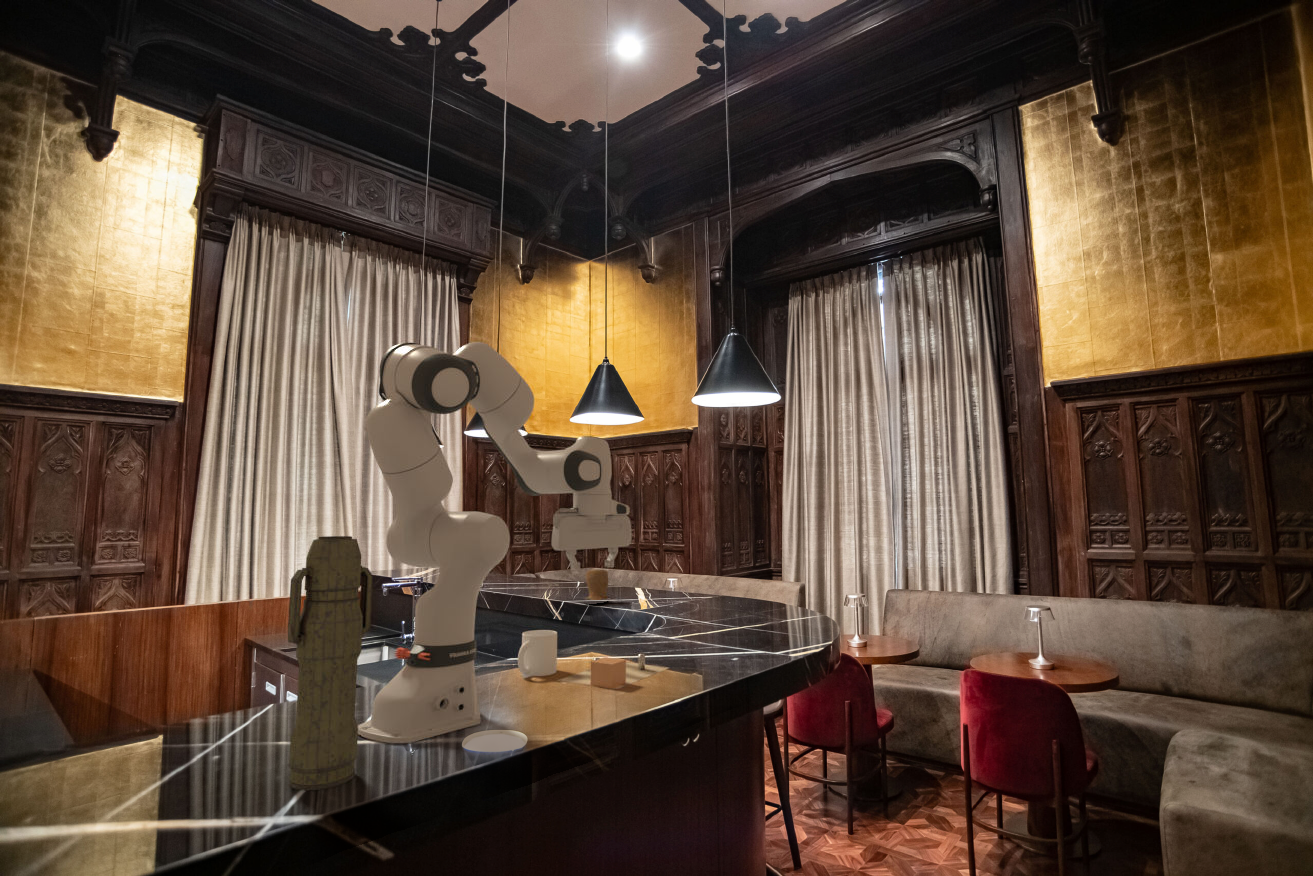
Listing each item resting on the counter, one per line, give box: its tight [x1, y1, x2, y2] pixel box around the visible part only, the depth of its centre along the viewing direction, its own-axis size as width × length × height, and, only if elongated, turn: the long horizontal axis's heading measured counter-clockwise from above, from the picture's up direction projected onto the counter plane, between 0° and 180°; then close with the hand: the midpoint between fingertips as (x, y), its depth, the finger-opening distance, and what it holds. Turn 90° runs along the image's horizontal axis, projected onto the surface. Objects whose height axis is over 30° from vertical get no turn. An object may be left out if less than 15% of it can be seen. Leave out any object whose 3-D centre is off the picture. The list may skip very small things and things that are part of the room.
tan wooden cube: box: [590, 657, 627, 689], centre depth 150 cm, size 6×6×5 cm
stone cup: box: [584, 568, 611, 600], centre depth 299 cm, size 15×12×15 cm
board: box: [556, 661, 670, 691], centre depth 159 cm, size 24×16×1 cm, turn 150°
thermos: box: [287, 535, 374, 791], centre depth 101 cm, size 9×12×35 cm
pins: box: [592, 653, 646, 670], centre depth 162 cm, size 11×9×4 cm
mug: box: [517, 629, 558, 679], centre depth 160 cm, size 12×8×10 cm
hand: (592, 568), depth 154 cm, fingers open, 8 cm apart
